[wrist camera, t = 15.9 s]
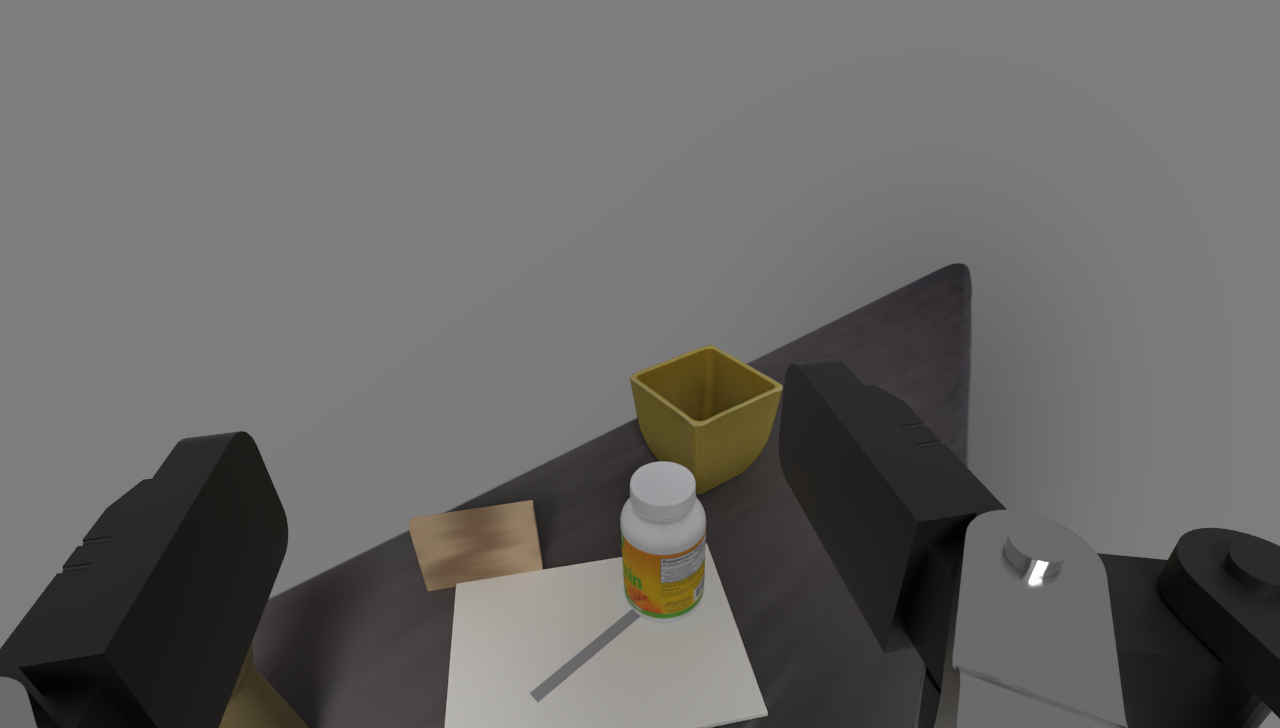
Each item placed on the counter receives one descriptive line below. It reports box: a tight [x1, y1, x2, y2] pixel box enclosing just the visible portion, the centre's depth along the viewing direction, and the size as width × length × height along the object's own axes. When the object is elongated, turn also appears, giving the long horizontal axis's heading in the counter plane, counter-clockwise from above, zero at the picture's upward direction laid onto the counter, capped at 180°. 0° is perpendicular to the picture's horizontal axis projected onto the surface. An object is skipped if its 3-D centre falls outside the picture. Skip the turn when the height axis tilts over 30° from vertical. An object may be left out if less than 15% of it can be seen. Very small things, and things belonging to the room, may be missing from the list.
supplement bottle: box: [620, 461, 706, 623], centre depth 41 cm, size 5×5×10 cm
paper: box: [445, 543, 768, 728], centre depth 41 cm, size 18×13×1 cm
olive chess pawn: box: [219, 643, 309, 728], centre depth 32 cm, size 6×6×11 cm
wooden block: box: [409, 500, 543, 591], centre depth 44 cm, size 8×1×6 cm, turn 100°
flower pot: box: [630, 345, 783, 494], centre depth 53 cm, size 9×9×9 cm
